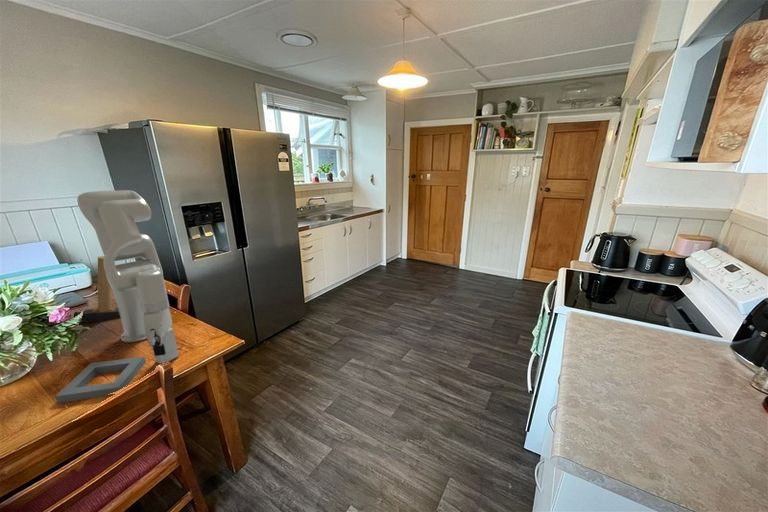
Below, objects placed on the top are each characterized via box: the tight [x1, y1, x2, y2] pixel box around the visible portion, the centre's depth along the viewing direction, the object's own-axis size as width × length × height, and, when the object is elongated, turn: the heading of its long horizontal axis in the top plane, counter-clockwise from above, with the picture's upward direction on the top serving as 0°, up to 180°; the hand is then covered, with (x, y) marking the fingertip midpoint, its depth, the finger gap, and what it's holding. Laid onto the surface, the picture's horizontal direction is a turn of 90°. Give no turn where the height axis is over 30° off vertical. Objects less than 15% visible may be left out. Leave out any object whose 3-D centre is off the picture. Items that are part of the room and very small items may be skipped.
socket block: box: [55, 356, 146, 404], centre depth 97 cm, size 16×16×2 cm
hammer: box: [73, 255, 120, 323], centre depth 134 cm, size 20×5×30 cm, turn 124°
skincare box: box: [151, 327, 180, 365], centre depth 107 cm, size 6×4×12 cm
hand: (165, 348), depth 108 cm, fingers closed on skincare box, 7 cm apart
